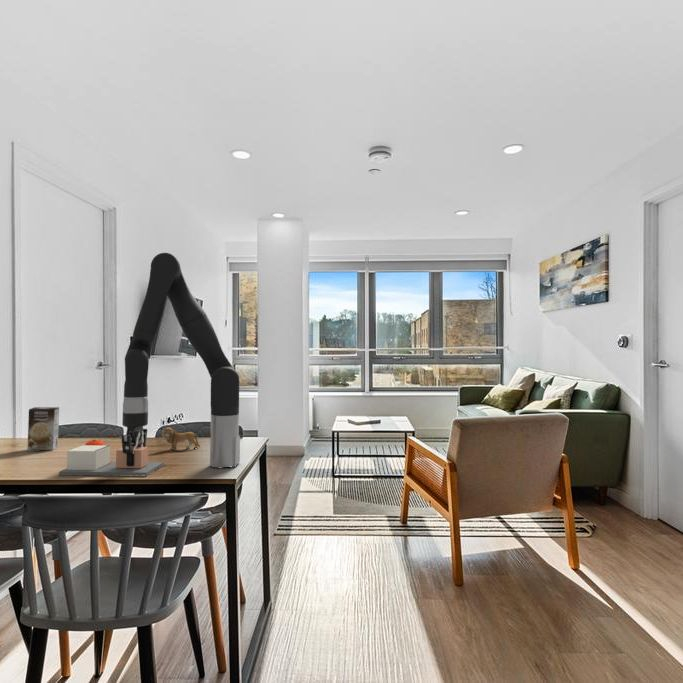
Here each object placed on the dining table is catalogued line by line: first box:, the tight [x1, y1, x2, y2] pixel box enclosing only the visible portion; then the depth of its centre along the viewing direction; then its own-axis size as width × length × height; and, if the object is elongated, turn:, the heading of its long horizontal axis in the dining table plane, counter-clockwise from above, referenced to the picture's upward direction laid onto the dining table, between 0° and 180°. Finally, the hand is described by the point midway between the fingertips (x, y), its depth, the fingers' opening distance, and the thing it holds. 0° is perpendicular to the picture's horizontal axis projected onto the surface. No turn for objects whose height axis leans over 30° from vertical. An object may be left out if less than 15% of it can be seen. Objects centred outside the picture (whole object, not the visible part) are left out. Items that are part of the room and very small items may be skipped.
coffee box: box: [26, 406, 60, 452], centre depth 185 cm, size 9×6×16 cm
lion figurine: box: [161, 427, 201, 451], centre depth 187 cm, size 15×5×9 cm, turn 121°
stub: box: [115, 446, 149, 468], centre depth 153 cm, size 8×5×6 cm, turn 90°
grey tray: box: [58, 444, 165, 477], centre depth 153 cm, size 27×14×7 cm, turn 90°
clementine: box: [84, 438, 106, 446], centre depth 170 cm, size 8×7×7 cm
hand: (134, 463), depth 153 cm, fingers closed on stub, 5 cm apart
